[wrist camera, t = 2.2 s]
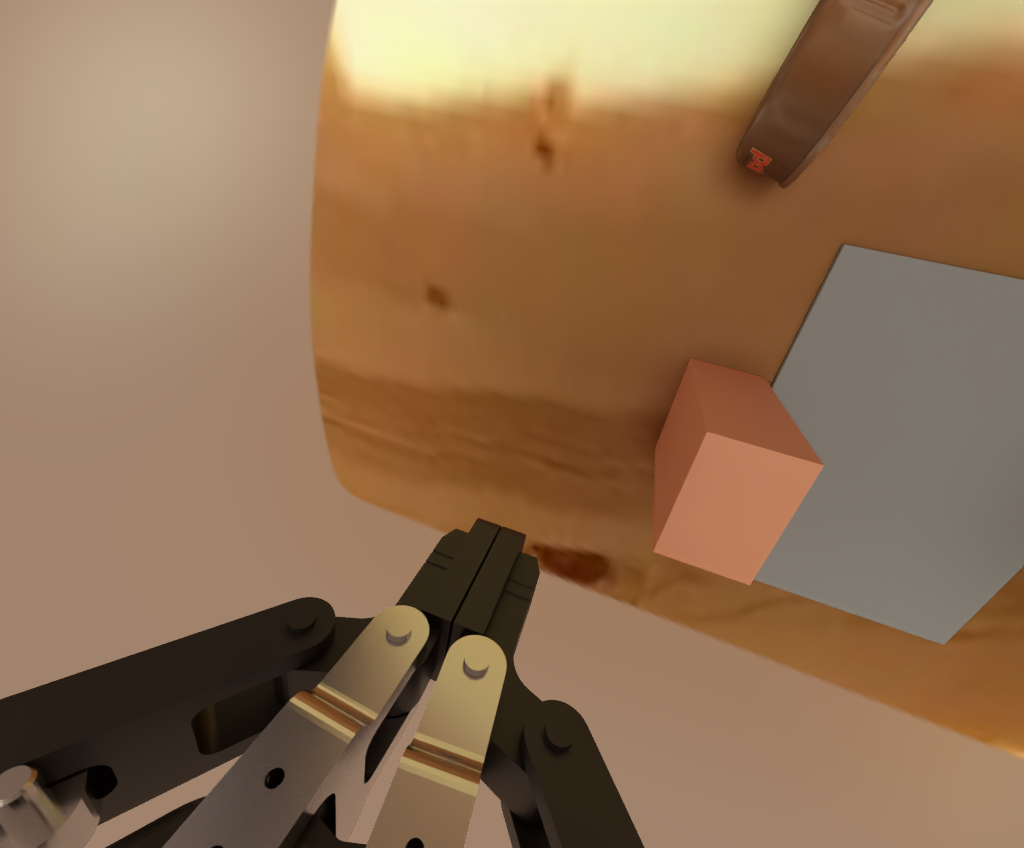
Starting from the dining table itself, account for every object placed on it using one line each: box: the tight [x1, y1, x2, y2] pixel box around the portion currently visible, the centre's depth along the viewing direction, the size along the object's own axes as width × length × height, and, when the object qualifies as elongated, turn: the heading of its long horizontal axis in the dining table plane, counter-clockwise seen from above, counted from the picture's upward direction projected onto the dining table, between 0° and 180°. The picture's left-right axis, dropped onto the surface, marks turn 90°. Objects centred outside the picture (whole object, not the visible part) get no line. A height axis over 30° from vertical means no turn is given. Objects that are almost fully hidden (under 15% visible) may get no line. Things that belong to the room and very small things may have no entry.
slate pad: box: [754, 244, 1024, 645], centre depth 23 cm, size 16×20×1 cm
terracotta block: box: [653, 358, 824, 585], centre depth 21 cm, size 4×6×10 cm, turn 168°
